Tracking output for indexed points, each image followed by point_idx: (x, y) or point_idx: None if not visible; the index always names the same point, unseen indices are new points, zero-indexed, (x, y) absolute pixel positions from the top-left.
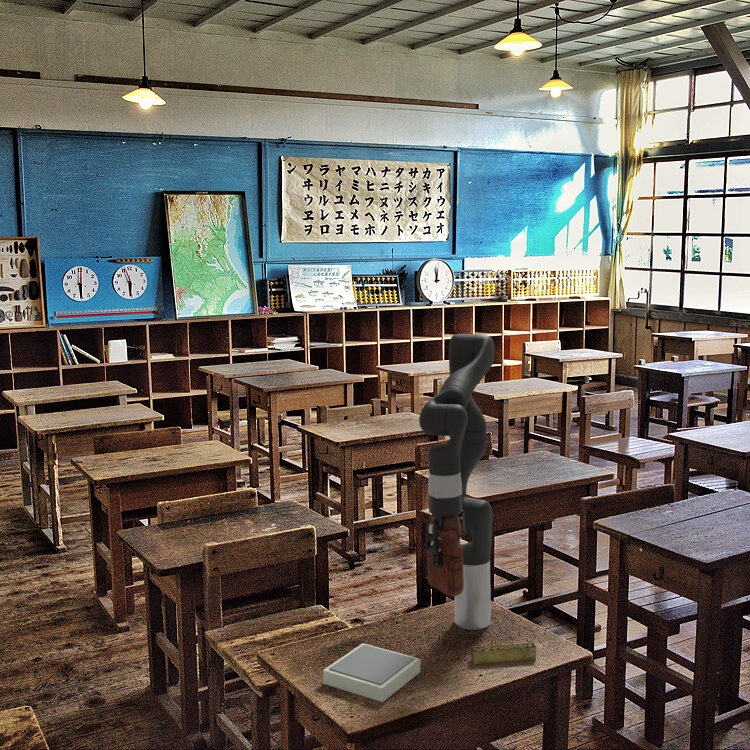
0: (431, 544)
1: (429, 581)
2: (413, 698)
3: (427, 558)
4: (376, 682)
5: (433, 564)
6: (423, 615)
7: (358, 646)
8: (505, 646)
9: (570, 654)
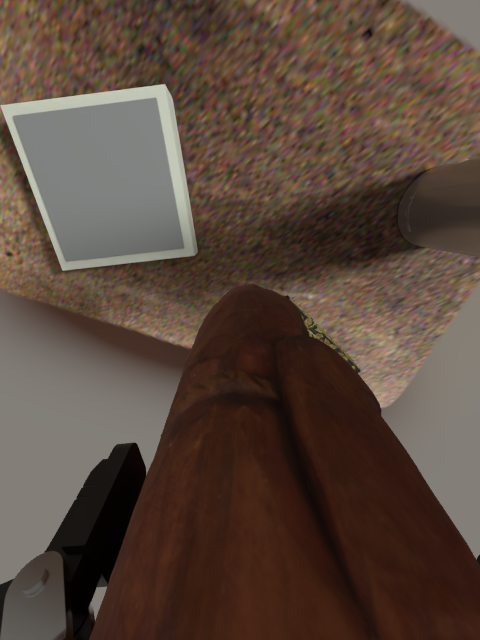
0: (4, 632)
1: (207, 315)
2: (124, 296)
3: (193, 357)
4: (62, 251)
5: (99, 467)
6: (435, 71)
7: (144, 88)
8: (327, 344)
9: (378, 394)
